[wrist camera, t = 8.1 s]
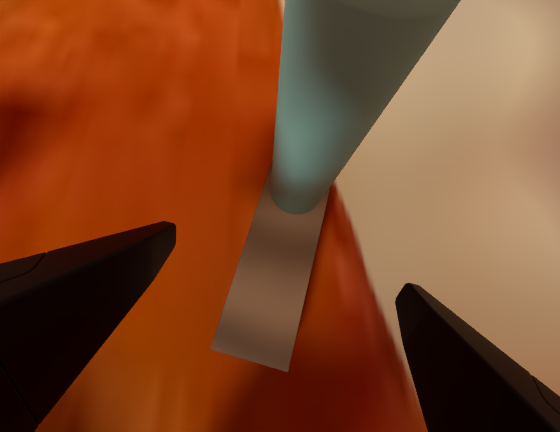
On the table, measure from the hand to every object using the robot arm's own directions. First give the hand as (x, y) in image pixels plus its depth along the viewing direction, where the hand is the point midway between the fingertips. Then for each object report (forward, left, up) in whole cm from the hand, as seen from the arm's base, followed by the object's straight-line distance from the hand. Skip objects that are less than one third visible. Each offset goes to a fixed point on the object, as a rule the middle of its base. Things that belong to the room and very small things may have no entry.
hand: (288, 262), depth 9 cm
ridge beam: (+1, 0, -10) cm, 10 cm away
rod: (+6, 0, -7) cm, 10 cm away
